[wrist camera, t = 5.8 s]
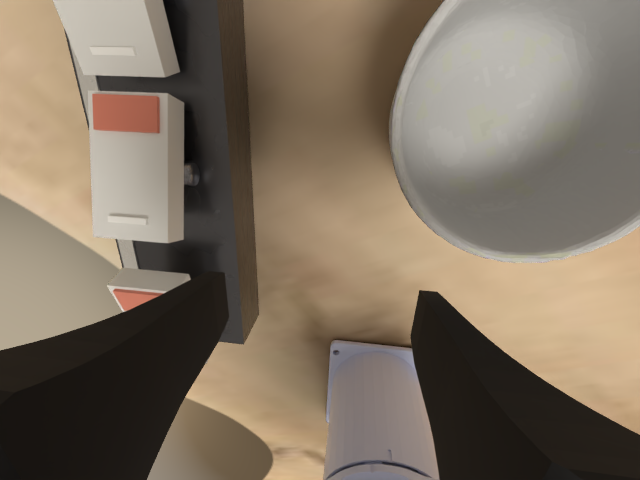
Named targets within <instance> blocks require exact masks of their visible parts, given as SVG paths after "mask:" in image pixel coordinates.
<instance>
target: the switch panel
mask: <svg viewBox="0 0 640 480" xmlns="http://www.w3.org/2000/svg"><path fill="white" fill-rule="evenodd" d="M163 4H164V8H165V12H166V16H167V20H168V24H169V28H170V32H171V37H172V41H173V45H174V49H175V53H176V57H177V61H178V65H179V69H180V72H178V73H176V74H173V75H170V76H168V77H135V76H102V75H84V74H83V71H82V69H81V67H80V64H79V62H78V59H77V57H76V55H75V52H74V50H73V48H72V45H71V43H70V40H69V38H68V36H67V33H66V31H65V34H66V38H67V42H68V46H69V51H70V55H71V59H72V63H73V67H74V71H75V75H76V79H77V83H78V87H79V91H80V96H81V100H82V104H83V108H84V112H85V116H86V120H87V124H88V128H89V109H88V90H89V91H117V92H145V93H168V94H170V95H172V96H173V97H175V98H177V99H178V100H180V101H182V102H184V240H180V241H176V242H172V243H158V242H147V241H135V240H123V239H116V243H117V247H118V251H119V255H120V259H121V263H122V267H123V268H132V269H142V270H153V271H163V272H174V273H184V274H189V276H190V279H193V278H195V277H197V276H199V275H201V274H203V273H206V272H208V271H213V272H224V273H225V281H226V291H227V300H228V310H229V319H228V321H227V323H226V326H225V328H224V331H223V333H222V335H221V337H220V340H219V342H228V343H237V344H244V343H245V341H246V339H247V337H248V335H249V333H250V331H251V329H252V327H253V325H254V323H255V321H256V319H257V317H258V315H259V308H258V288H257V269H256V249H255V230H254V210H253V191H252V171H251V152H250V132H249V113H248V93H247V74H246V54H245V35H244V15H243V0H163ZM64 30H65V29H64Z"/></svg>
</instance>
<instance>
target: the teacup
mask: <svg viewBox="0 0 640 480" xmlns="http://www.w3.org/2000/svg"><path fill="white" fill-rule="evenodd" d="M389 145H390V151H391V156H392V160H393V164H394V168H395V173H396V176H397V179H398V182H399V185H400V187H401V190H402V192H403V194H404V196H405V197H406V199H407V201H408V203H409V205H410V206H411V208H412V209H413V210H414V212H415V213H416V214H417V215H418V217H419V218H420V219H421V220H422V221H423V222H424V223H425V224H426V225H427V226H428V227H429V228H430V229H431V230H433V231H434V232H435V233H436V234H437V235H439V236H441V237H442V238H444V239H445V240H446V241H448V242H449V243H450V244H452V245H454V246H456V247H458V248H460V249H462V250H464V251H466V252H469V253H471V254H474V255H477V256H480V257H483V258H487V259H493V260H497V261H501V262H511V263H542V262H549V261H551V260H562V259H565V258H567V257H570V256H576V255H578V254H581V253H586V252H590V251H593V250H595V249H597V248H600V247H602V246H605V245H607V244H609V243H612V242H614V241H616V240H618V239H620V238H622V237H624V236H626V235H627V234H629V233H630V232H632V231H633V230H635V229H636V228H638V227H639V226H640V0H444V1H443V2H442V4H441V5H440V6H439V7H438V9H437V10H436V11H435V12H434V14H433V15H432V16H431V18H430V19H429V20H428V21H427V23H426V25H425V26H424V28H423V30H422V31H421V33H420V34H419V36H418V37H417V39H416V41H415V43H414V45H413V47H412V49H411V52H410V54H409V56H408V58H407V61H406V63H405V66H404V68H403V71H402V73H401V76H400V79H399V82H398V86H397V89H396V92H395V95H394V98H393V102H392V107H391V111H390V119H389Z"/></svg>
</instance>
